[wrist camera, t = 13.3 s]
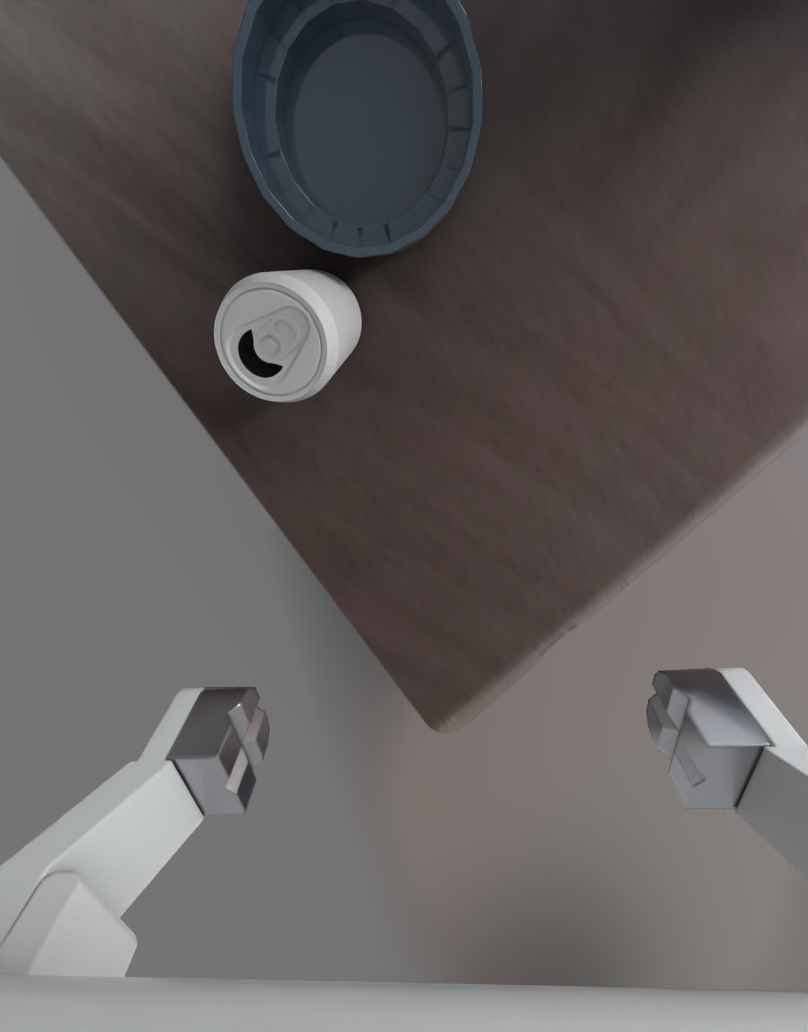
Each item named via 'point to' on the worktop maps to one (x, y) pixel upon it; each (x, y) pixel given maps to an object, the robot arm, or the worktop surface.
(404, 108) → the bowl
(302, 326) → the beverage can
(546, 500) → the worktop surface
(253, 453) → the worktop surface
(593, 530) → the worktop surface
